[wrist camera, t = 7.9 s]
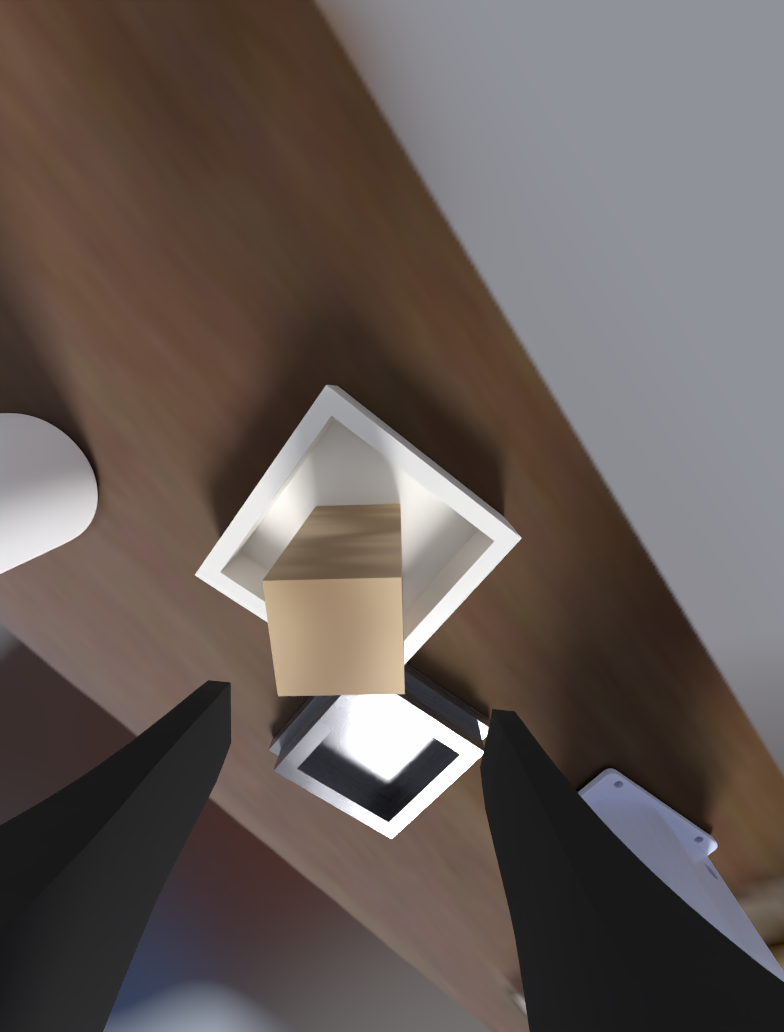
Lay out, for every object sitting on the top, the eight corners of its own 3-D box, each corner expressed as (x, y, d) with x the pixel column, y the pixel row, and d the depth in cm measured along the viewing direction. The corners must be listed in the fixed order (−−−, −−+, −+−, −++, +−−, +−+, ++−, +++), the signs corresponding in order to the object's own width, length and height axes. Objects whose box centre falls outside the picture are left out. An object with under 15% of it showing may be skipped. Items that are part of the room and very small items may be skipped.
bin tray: (504, 517, 20) (521, 538, 17) (380, 655, 23) (377, 693, 20) (337, 385, 19) (326, 384, 16) (222, 549, 21) (194, 575, 18)
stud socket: (489, 719, 24) (498, 751, 22) (393, 810, 26) (393, 847, 24) (363, 634, 22) (359, 659, 20) (272, 738, 24) (260, 771, 22)
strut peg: (400, 503, 19) (401, 577, 12) (402, 581, 21) (404, 694, 13) (315, 506, 20) (262, 580, 12) (322, 583, 21) (277, 696, 13)
